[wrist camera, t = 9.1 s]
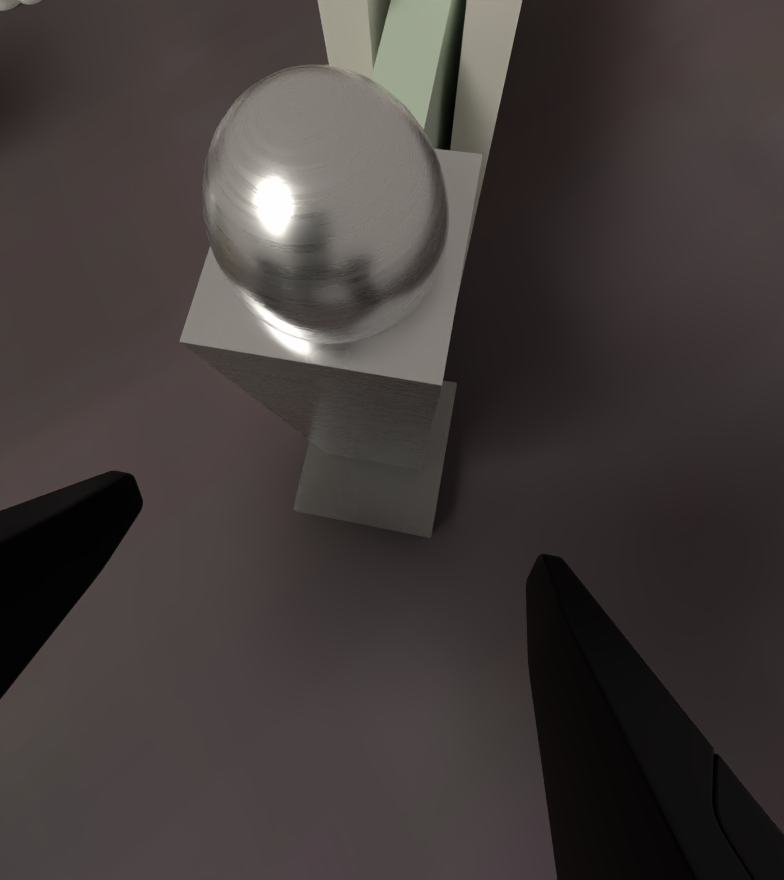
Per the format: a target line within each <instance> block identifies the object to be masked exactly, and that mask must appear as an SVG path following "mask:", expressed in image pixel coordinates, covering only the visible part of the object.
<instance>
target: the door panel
mask: <svg viewBox="0 0 784 880" xmlns="http://www.w3.org/2000/svg"><path fill="white" fill-rule="evenodd" d="M466 3H467V0H391V2H390V6H389V10H388V14H387V17H386V21H385V25H384V29H383V33H382V37H381V41H380V45H379V49H378V53H377V57H376V61H375V65H374V69H373V73H372V77H371V80H373V81H375V82H377V83H378V84H380V85H381V86H383V87H384V88H385V89H387V90H388V91H389V92H391V93H392V94H393V95H394V96H395V97H396V98H398V99H399V100H400V101H401V102H402V103H403V104H404V105H405V106H406V107H407V108H408V109H409V111H410V112H411V113H412V115H413V116H414V117H415V119H416V120H417V121H418V122H419V124H420V125H421V126H422V128H423V129H424V131H425V133H426V135H427V136H428V138H429V140H430V142H431V144H432V146H433V148H434V149H441V150H450V148H451V139H452V130H453V121H454V112H455V103H456V94H457V85H458V76H459V67H460V58H461V49H462V39H463V30H464V21H465V12H466Z"/></svg>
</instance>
